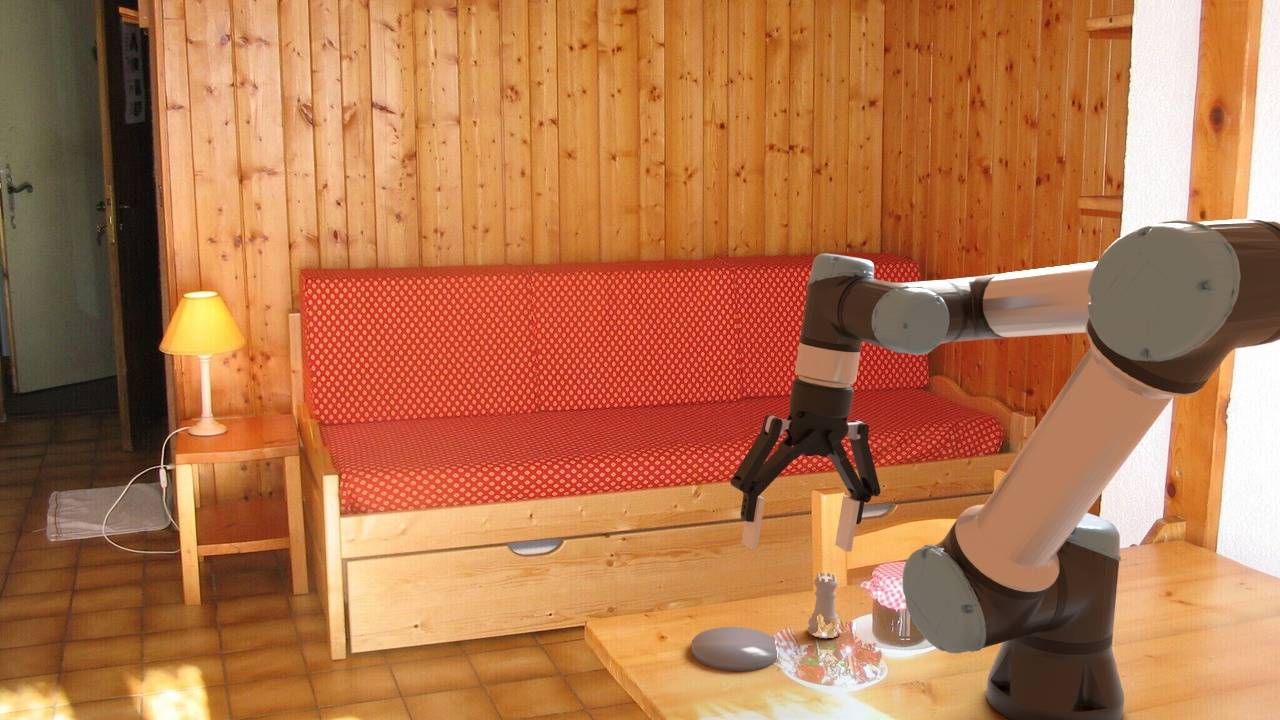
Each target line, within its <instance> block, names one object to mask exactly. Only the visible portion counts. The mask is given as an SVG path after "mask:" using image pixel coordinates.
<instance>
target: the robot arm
mask: <svg viewBox="0 0 1280 720" xmlns="http://www.w3.org/2000/svg"><path fill="white" fill-rule="evenodd" d="M811 266H812V267H811V270H810V274H809V279H808V282H807V285H806V295H805V304H804V310H803V315H802V316H803V317H802V323H801V329H800V337H799V343H798V344H799V345H798V349H797V350H798V351H797V355H796V362H795V368H794V372H795V374H796V375H797V376H798V377H795V378H794V379H793V380H792V385H791V391H790V398H789V413H788V416H787V417H786V419H784V418H779V417H778V416H774V415H773V414H770V413H769V414H766V415H765V416H764V419H763V422H762V426H761V431H760V433H759V434H758V435H757V437H756V439H755V441H754V442H753V444H752V445H751V447H750V449H749V450H748V452H747V454H746V455H745V457H744V458H743V460H742V462H741V463H740V465H739V466H738V468H737V470H736V471H735V473H734V474H733V475H732V477H731V479H730V486H732V487H733V488H735V489H737V490H739V491H740V492H741V493H742V494H743V496H742V503H741V510H740V517H741V519H742V520H743V521H744V525H743V531H742V540H741V544H742V545H743V546H745V547H746V548H748V549H750V550H751V551H758V547H759V540H760V534H761V528H762V523H763V522H762V521H763V517H764V516H763V515H764V509H765V504H766V498H765V497H763V496H761V495H762V494H763V492H765V490H766V489H767V488H768V487H769V486H770V485H771V484H772V483H773V482H774V481H775V480H776V479H777V477H778V476H779V475H780V474H781V473H782V472H783V471H784V470H786V468H787V467H788V466H789V465H790V464H791V463H792V462H793V461H795V460H797V459H799V458H800V457H801V456H805V457H813V456H819V457H820V458H821V457H822V458H828V457H829V459H830V460H831V462H832V465H833V466H834V468H835V470H836V472H837V473H838V475H839V477H840V478H841V481H842V482H843V485H844V486H845V487H846V489H847V491H848V493H849V495H843V496H842V502H841V508H840V513H839V514H840V515H839V519H838V526H837V531H836V532H837V533H836V537H835V542H834V544H835V545H834V546H836V547H838V548H840V549H842V550H843V551H845V552H848V553H849V552H852V550H853V545H854V538H855V534H856V526H857V525H860V524H861V522H862V518H863V513H864V507H865V503H869V502H870V501H871V499H872V497H873V496H874V497H878V496H879V495H881V492H882V491H881V487H880V483H879V478H878V474H877V471H876V468H875V463H874V459H873V456H872V452H871V447H870V444H869V433H870V426H869V425H868V424H867V423H865V422H862V421H859V420H858V419H853V420H851V421H850V422H848V418H849V417H848V416H850V415H851V413H852V412H851V411H852V405H853V399H854V394H855V389H854V388H853V386H851V384H855V383H856V382H857V377H858V371H859V365H860V364H859V363H860V356H861V350H862V345H863V344H862V343H866V344H867V343H868V344H869V345H872V346H877V347H880V348H883V349H888V350H889V351H892V352H894V353H897V354H903V355H904V354H910V355H914V356H915V355H916V356H921V355H923V356H924V355H926V354H929V353H930V352H932V351H933V350H934V349H935V348H937V347H938V346H940V345H941V344H949V343H956V342H969V341H980V340H996V339H997V340H998V339H1006V338H1017V337H1019V338H1020V337H1034V336H1049V335H1063V334H1065V335H1067V334H1080V333H1081V334H1082V333H1085V334H1086V337H1087V340H1088V343H1089V345H1090V346H1089V348H1088V349H1087V351H1086V353H1085V354H1084V355H1083V357H1082V359H1080V361H1079V363H1078V365H1076V368H1075V369H1074V371H1073V372H1072V373H1071V374H1070V377H1069V378H1068V379H1067V381H1066V383H1065V384H1064V386H1063V387H1062V389H1060V390H1059V391H1060V392H1059V393H1058V394H1057V396H1056V397H1055V399H1053V402H1052V404H1051V405H1050V407H1049V408H1048V409H1047V411H1046V413H1045V414H1044V415H1043V417H1042V418H1041V420H1040V421H1039V423H1038V424H1037V426H1036V427H1035V429H1034V430H1033V432H1032V433H1031V435H1030V436H1029V438H1028V439H1027V441H1026V442H1025V444H1024V445H1023V447H1022V449H1021V450H1020V452H1018V454H1017V455H1016V457H1015V459H1014V460H1013V462H1012V464H1011V465H1009V468H1008V469H1007V470H1006V472H1005V473H1004V475H1003V477H1002V478H1001V479H1000V481H999V482H998V484H997V486H996V487H995V489H994V490H993V492H992V493H991V494H990V496H989V498H988V499H987V500H986V502H985V503H984V504H976V505H972V506H969V507H967V508H965V510H963V512H961V513H960V515H958V517H957V519H955V521H954V523H953V525H952V526H951V527H950V529H949V530H948V532H947V534H946V535H945V537H944V538H943V539H942V540H941V541H940V542H939V543H937V544H925V545H923V546H921V548H918V549H916V550H914V551H913V552H912V553H911V554H910V555H909V557H908V558H907V559H906V562H905V563H904V567H903V572H902V580H901V581H902V593H903V595H904V599H905V601H904V602H905V605H906V608H907V612H908V614H909V617H910V618H911V621H912V622H913V624H914V625H915V627H916V629H917V630H918V631H919V633H920V634H921V636H922V637H923V638H924V639H925V640H926V641H927V642H928V643H929V644H930V645H931V646H933V647H935V648H936V649H937V650H940V651H942V652H947V653H948V654H949V653H950V654H952V655H953V654H954V655H955V654H962V653H966V652H967V653H968V652H970V653H971V652H973V653H974V652H979V651H982V649H985V648H988V647H991V646H995V645H999V644H1001V646H1000V647H999V650H998V652H997V654H996V656H995V659H994V660H993V664H992V666H991V668H990V670H989V673H988V677H987V684H986V700H987V702H988V703H989V705H990V707H992V708H993V709H994V710H995V711H996V712H998V713H999V714H1000V715H1002V716H1004V717H1005V718H1007V719H1009V720H1122V719H1123V717H1124V707H1125V694H1124V690H1123V685H1122V682H1121V679H1120V675H1119V671H1118V670H1119V669H1118V666H1117V664H1116V658H1115V655H1114V652H1113V637H1114V624H1115V617H1116V616H1115V614H1116V613H1115V612H1116V603H1117V602H1116V601H1117V593H1118V592H1117V591H1118V583H1119V582H1118V580H1119V571H1120V570H1119V568H1120V562H1121V561H1122V557H1121V555H1120V547H1121V546H1120V543H1121V542H1120V540H1121V535H1120V532H1119V531H1118V529H1117V527H1116V526H1115V525H1114V524H1113V523H1112V522H1110V521H1109V520H1108V519H1105V518H1103V517H1101V516H1097V515H1095V514H1092V513H1090V512H1089V510H1090V509H1091V508H1092V506H1093V505H1094V504H1095V502H1096V501H1097V499H1098V498H1099V497H1100V495H1101V494H1102V493H1103V492H1104V491H1105V489H1106V488H1107V487H1108V485H1109V483H1110V482H1111V481H1112V480H1113V478H1114V477H1115V475H1116V474H1117V473H1118V472H1119V470H1120V469H1121V468H1122V466H1123V465H1124V464H1125V462H1126V461H1127V460H1128V459H1129V458H1130V456H1131V454H1132V453H1133V452H1134V450H1135V449H1136V447H1137V446H1138V445H1139V443H1140V442H1141V441H1142V439H1143V438H1144V437H1145V436H1146V434H1147V433H1148V431H1149V430H1150V429H1151V427H1152V426H1153V424H1155V422H1156V421H1157V420H1158V419H1159V416H1161V414H1162V413H1163V411H1165V408H1166V407H1167V406H1168V405H1169V404H1170V402H1171V401H1172V399H1173V398H1175V397H1176V398H1178V397H1189V396H1192V395H1195V394H1198V393H1199V392H1200V391H1201V390H1202V389H1203V388H1204V386H1205V385H1206V384H1207V383H1208V381H1209V379H1210V378H1212V376H1213V375H1214V374H1215V372H1216V370H1217V369H1219V367H1220V366H1221V364H1222V363H1223V361H1224V360H1225V359H1226V358H1227V356H1228V355H1229V354H1230V353H1231V352H1232V351H1234V349H1236V350H1237V349H1241V348H1242V349H1243V348H1248V347H1255V346H1261V345H1267V344H1271V343H1274V342H1276V341H1279V340H1280V222H1278V221H1274V220H1270V219H1265V218H1254V217H1253V218H1252V217H1251V218H1239V219H1227V220H1226V219H1225V220H1223V219H1222V220H1212V221H1210V220H1209V221H1199V222H1198V221H1193V220H1187V219H1186V220H1185V219H1183V220H1181V219H1178V220H1177V219H1176V220H1175V219H1174V220H1169V221H1167V220H1166V221H1162V222H1159V223H1155V224H1152V225H1147V226H1142V227H1140V228H1136V229H1133V230H1131V231H1129V232H1127V233H1125V234H1123V235H1122V236H1120V237H1118V238H1117V239H1116V240H1115V241H1114V242H1112V243H1111V244H1110V245H1109V246H1108V247H1107V248H1106V249H1105V251H1104V252H1103V253H1102V254H1101V256H1100V257H1099V259H1098V260H1097V261H1093V262H1085V263H1074V264H1069V265H1060V266H1053V267H1051V266H1050V267H1045V268H1044V267H1043V268H1036V269H1029V270H1021V271H1012V272H1011V271H1010V272H1005V273H998V274H996V273H995V274H987V275H979V276H978V275H977V276H970V277H960V278H950V279H935V280H921V281H920V280H919V281H910V282H892V281H886V280H881V279H875V274H874V273H875V265H874V263H873V262H872V261H871V260H869V259H864V258H860V257H854V256H847V255H840V254H835V253H834V254H833V253H820V254H817V255H816V257H814V258H813V262H812V265H811ZM784 432H786V435H787V436H785V438H784V439H782V441H781V442H780V443H779V444H778V446H777V449H776V450H775V451H774V452H773V453H772V454H771V452H772V451H773V449H774V447H775V446H776V444H777V443H778V441H779V438H780V436H782V435H784ZM846 436H847V437H848V438H849V442H850V447H851V451H852V454H853V458H854V462H855V465H856V470H857V472H856V470H855V469H854V466H853V465H852V463H851V461H850V459H849V457H848V453H847V451H846V449H845V448H844V446H843V444H842V442H843V440H844V439H845V438H846ZM770 454H771V455H770ZM769 455H770V456H769ZM768 457H769V458H768ZM1122 716H1123V717H1122Z"/></svg>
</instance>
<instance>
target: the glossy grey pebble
mask: <svg viewBox="0 0 1280 720" xmlns="http://www.w3.org/2000/svg"><path fill="white" fill-rule="evenodd" d="M775 639H776V638H775V637H773V636H772V635H770V634H769V633H766V632H764V631H762V630H757V629H753V628H748V627H740V626H723V627H715V628H710V629H707V630H703V631H701V632H699V633H697V634H696V635H694V637H693V638H692V640H691V654H692V658H694V659H695V660H696V661H697V662H698V663H700V664H702V665H704V666H706V667H708V668H713V669H716V670H722V671H726V672H727V671H729V672H748V671H749V672H751V671H757V670H760V669H764V668H767V667H769V666H771V665H773V664H775V663H776V661H777V660H778V659H777V650H776V646H775ZM776 659H777V660H776ZM775 660H776V661H775Z"/></svg>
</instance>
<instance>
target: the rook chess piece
mask: <svg viewBox="0 0 1280 720" xmlns="http://www.w3.org/2000/svg"><path fill="white" fill-rule="evenodd" d="M813 584H814V586H815V587H816V591H815V592H814V595H815V599H816V601H815V604H814V611H813V612H812V614H811V617H809V619H808V622H807V623H808V627H807V631H808V633H809V635H811V634H813V633H816V632H817V631H818V623H817V616H818V615H819V614H821V615H822V616H823V617H824V622H825V624H826V625H828V624H830V623H831V621H832V620H836V621H837V622H838V625H839V626H840V625H841V626H842V624H841V620H840V619H839V615H838V614H837V611H836V603H835V600H836V596H837V593H836V588H837V587H838V586H839V582H838V580H837V575H836V574H832V572H827V574H826V575H825V572H820V573H817V574H816V578H815V579H814V581H813ZM841 626H840V627H841Z"/></svg>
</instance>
